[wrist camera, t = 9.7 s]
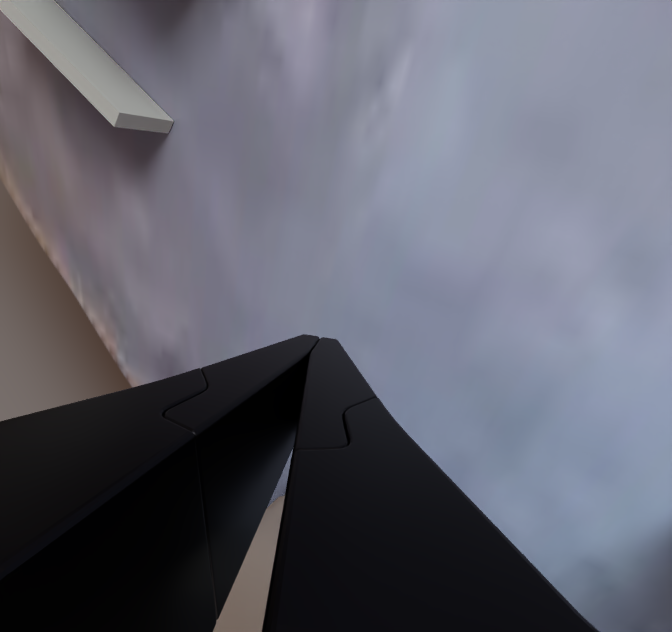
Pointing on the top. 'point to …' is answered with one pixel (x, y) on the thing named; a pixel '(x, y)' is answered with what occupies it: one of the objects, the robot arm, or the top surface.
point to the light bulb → (253, 578)
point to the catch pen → (86, 65)
